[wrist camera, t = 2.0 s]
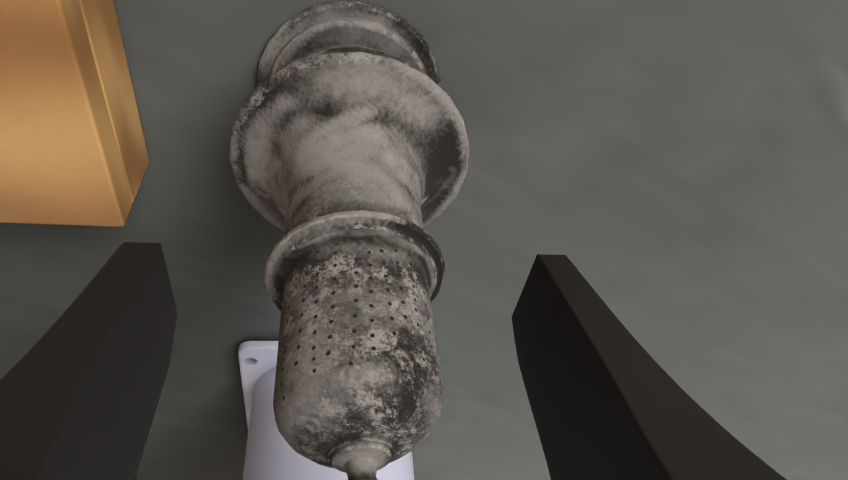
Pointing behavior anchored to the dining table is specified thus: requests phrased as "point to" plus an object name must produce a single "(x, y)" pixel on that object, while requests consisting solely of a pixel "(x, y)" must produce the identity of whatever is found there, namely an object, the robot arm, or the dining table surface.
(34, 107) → the shelf stand
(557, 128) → the dining table surface
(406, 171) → the grey stone finial
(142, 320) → the robot arm
